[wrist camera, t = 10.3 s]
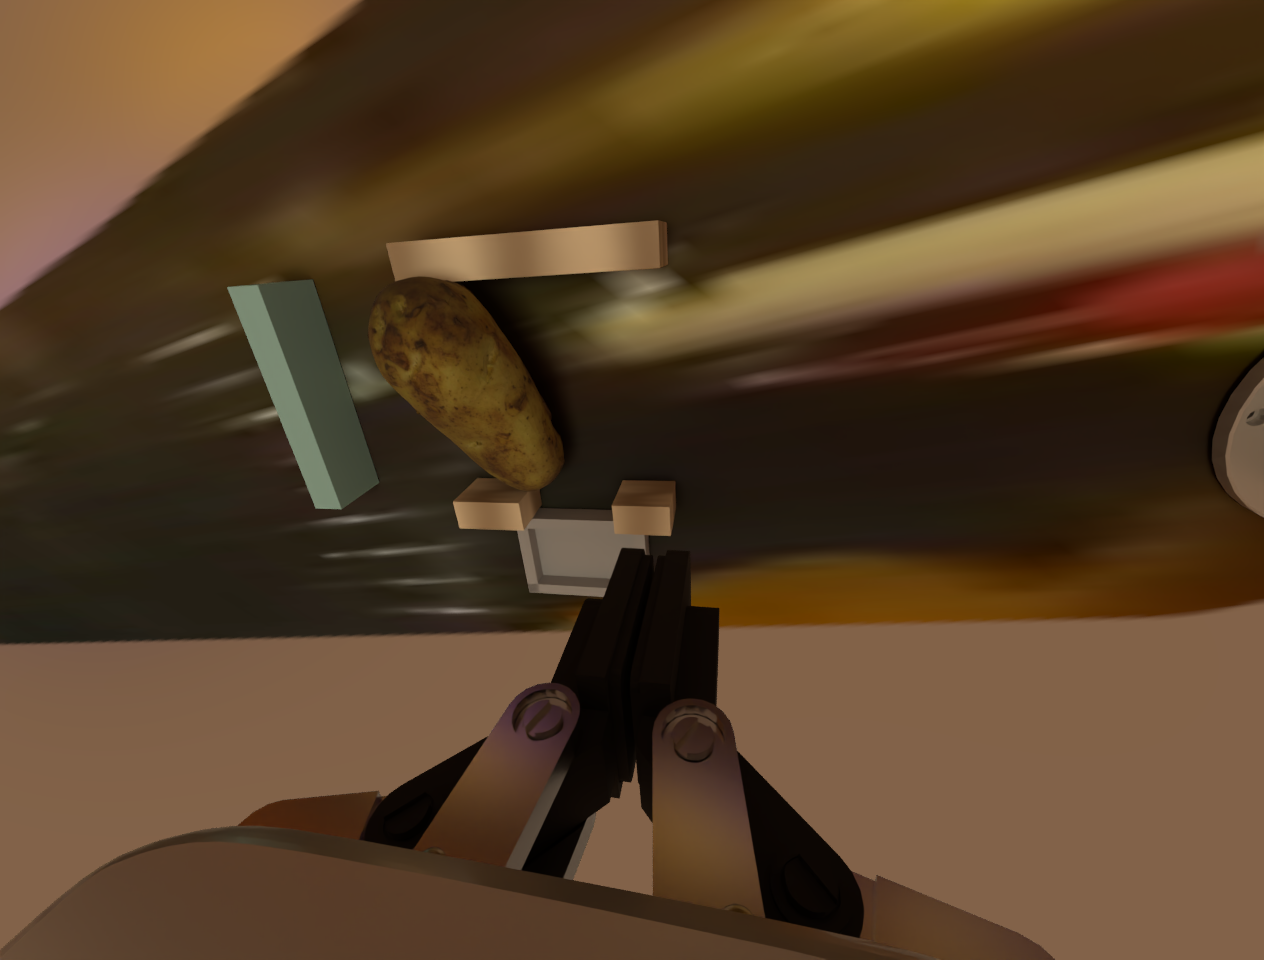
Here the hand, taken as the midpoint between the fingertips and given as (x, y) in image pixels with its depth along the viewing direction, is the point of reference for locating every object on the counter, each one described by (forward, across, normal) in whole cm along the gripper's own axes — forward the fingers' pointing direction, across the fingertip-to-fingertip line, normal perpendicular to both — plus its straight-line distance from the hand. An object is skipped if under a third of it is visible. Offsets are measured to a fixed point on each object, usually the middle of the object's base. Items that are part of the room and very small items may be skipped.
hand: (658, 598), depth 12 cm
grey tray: (+19, +8, +12) cm, 24 cm away
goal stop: (+19, +25, 0) cm, 31 cm away
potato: (+19, +12, -1) cm, 23 cm away
